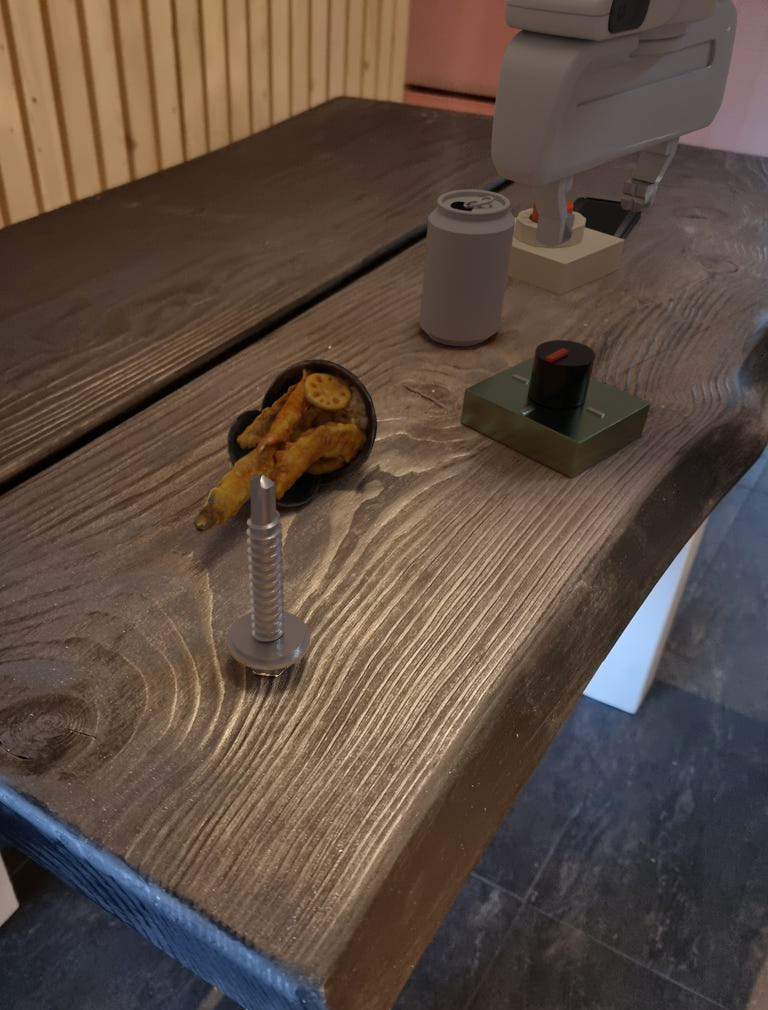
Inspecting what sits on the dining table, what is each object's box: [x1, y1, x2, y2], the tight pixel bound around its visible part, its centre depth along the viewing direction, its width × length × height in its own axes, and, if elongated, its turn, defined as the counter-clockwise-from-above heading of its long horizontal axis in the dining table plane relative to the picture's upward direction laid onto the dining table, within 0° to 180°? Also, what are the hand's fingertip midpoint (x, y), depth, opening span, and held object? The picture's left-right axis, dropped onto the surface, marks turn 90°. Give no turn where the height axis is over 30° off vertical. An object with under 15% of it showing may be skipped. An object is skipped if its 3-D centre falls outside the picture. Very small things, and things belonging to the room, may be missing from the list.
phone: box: [572, 196, 643, 241], centre depth 106 cm, size 8×1×15 cm
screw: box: [225, 474, 311, 675], centre depth 50 cm, size 13×5×5 cm
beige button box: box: [507, 207, 626, 296], centre depth 97 cm, size 12×10×5 cm
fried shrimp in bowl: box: [193, 359, 378, 536], centre depth 64 cm, size 9×11×18 cm
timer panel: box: [460, 356, 652, 479], centre depth 73 cm, size 11×9×3 cm
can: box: [419, 189, 515, 347], centre depth 83 cm, size 8×8×12 cm
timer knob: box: [528, 339, 596, 409], centre depth 71 cm, size 4×4×4 cm
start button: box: [531, 199, 574, 223], centre depth 95 cm, size 4×4×2 cm
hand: (595, 224), depth 63 cm, fingers open, 8 cm apart
